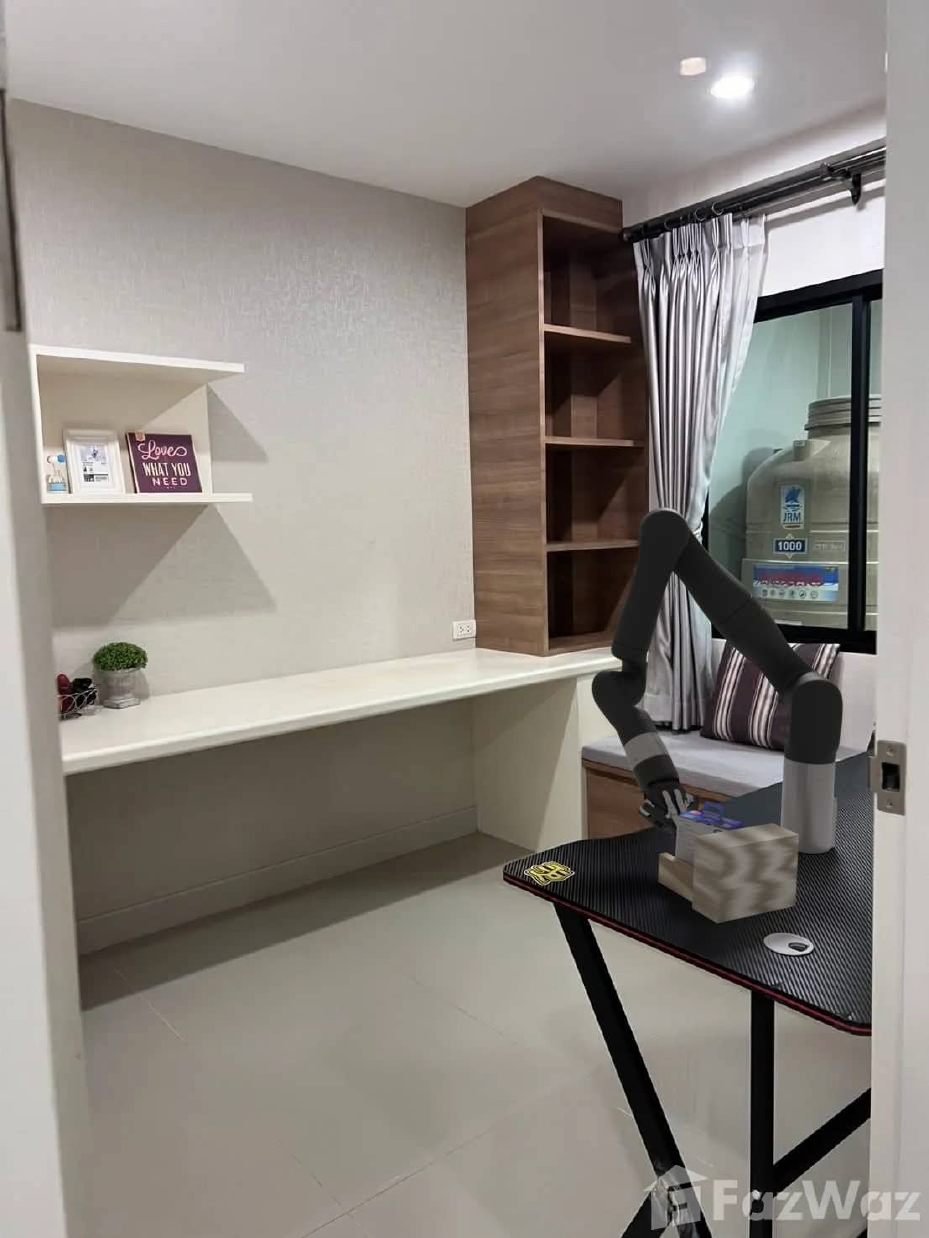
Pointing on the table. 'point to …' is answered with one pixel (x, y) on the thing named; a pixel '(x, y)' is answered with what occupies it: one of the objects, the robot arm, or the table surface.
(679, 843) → the ink cartridge box
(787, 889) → the cartridge dock
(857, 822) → the table surface
